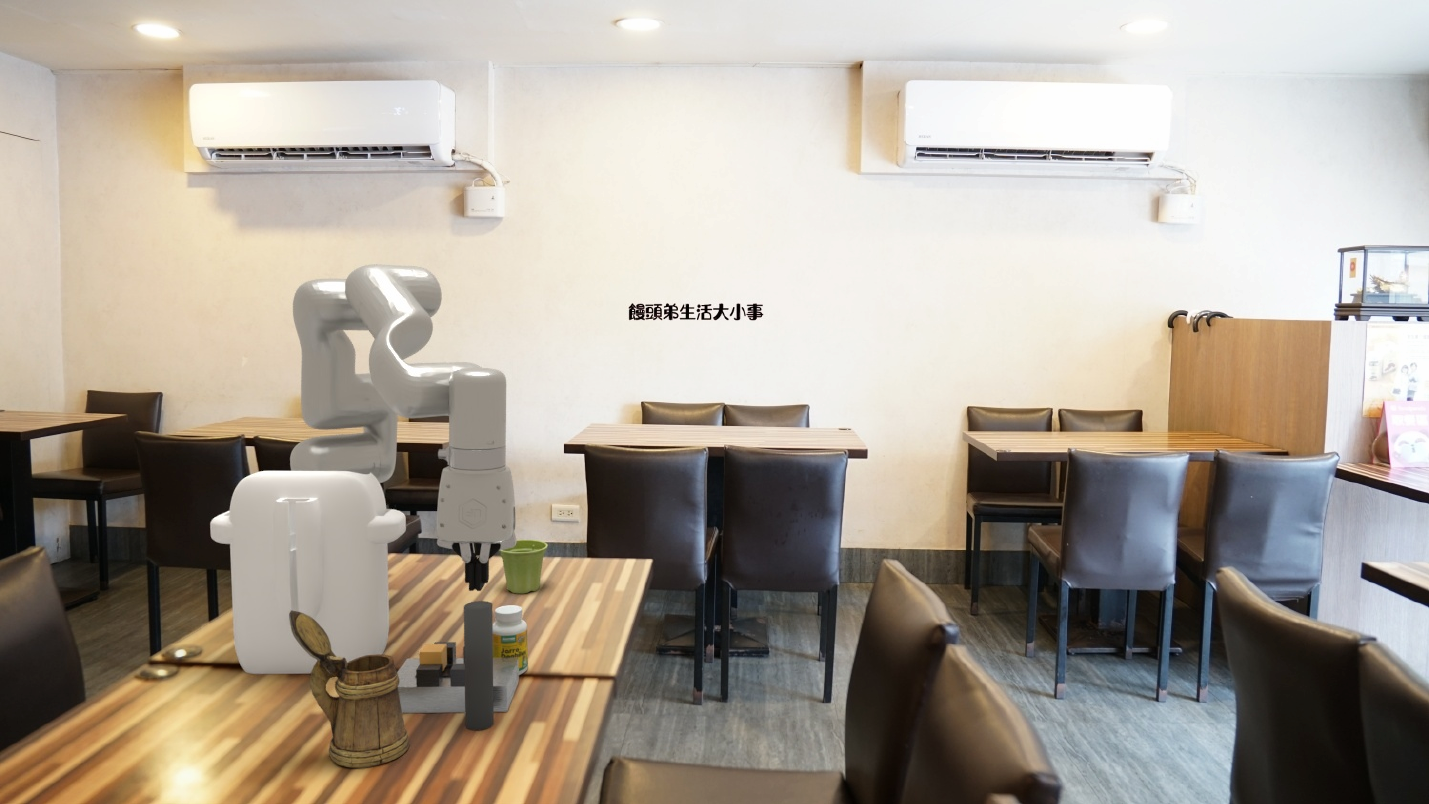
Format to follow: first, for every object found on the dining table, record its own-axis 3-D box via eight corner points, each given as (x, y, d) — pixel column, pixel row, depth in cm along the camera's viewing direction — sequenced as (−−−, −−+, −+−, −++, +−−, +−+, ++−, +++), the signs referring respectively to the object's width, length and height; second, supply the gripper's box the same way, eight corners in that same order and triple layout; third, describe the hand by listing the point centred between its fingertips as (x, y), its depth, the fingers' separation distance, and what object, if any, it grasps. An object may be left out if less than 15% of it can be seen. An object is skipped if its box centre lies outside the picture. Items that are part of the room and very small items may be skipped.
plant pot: (542, 597, 170) (542, 552, 169) (492, 596, 170) (492, 551, 169) (551, 582, 179) (551, 540, 178) (505, 581, 179) (504, 539, 178)
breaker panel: (386, 713, 120) (385, 670, 120) (407, 682, 130) (406, 642, 130) (507, 711, 121) (506, 668, 121) (518, 681, 131) (518, 641, 131)
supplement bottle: (520, 661, 139) (519, 601, 138) (533, 673, 134) (532, 611, 133) (486, 668, 136) (485, 606, 135) (498, 680, 131) (497, 617, 130)
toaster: (198, 683, 129) (189, 478, 126) (235, 654, 140) (227, 464, 137) (392, 681, 131) (387, 478, 128) (412, 652, 142) (409, 465, 139)
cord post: (462, 730, 116) (460, 610, 114) (468, 717, 119) (467, 601, 118) (490, 730, 116) (489, 610, 114) (495, 717, 120) (494, 601, 118)
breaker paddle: (419, 673, 124) (419, 652, 123) (425, 664, 127) (425, 643, 126) (441, 672, 124) (441, 651, 124) (446, 664, 127) (446, 643, 127)
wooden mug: (306, 736, 114) (301, 598, 112) (416, 732, 115) (413, 596, 113) (280, 772, 105) (275, 623, 103) (399, 767, 106) (396, 620, 105)
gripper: (414, 462, 119) (415, 596, 121) (528, 465, 119) (527, 597, 122) (429, 452, 126) (429, 578, 128) (536, 454, 127) (534, 580, 129)
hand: (476, 587), depth 125 cm, fingers closed
